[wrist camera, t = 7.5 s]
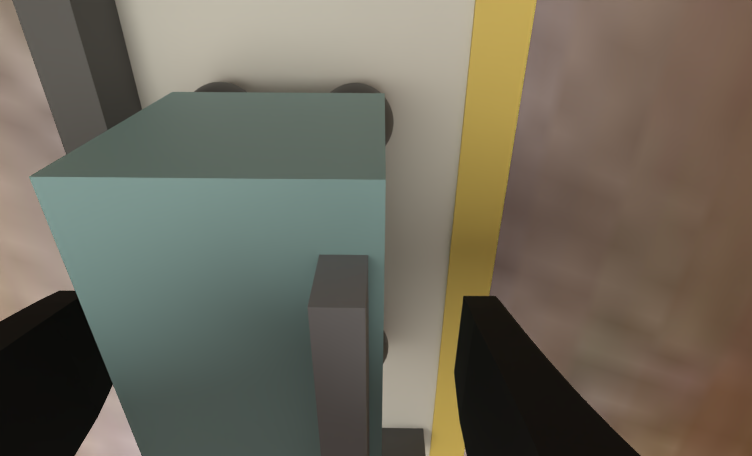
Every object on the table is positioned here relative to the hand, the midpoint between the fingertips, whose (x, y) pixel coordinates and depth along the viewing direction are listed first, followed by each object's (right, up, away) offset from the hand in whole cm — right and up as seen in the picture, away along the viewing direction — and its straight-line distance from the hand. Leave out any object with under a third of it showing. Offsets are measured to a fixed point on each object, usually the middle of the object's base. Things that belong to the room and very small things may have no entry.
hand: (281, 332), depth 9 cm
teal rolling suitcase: (0, +2, +3) cm, 4 cm away
